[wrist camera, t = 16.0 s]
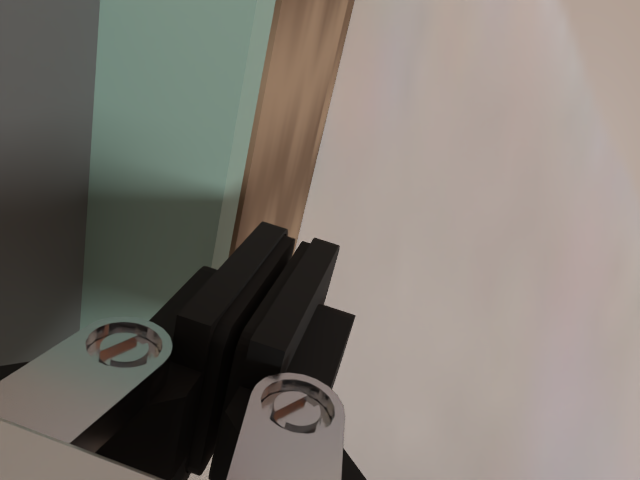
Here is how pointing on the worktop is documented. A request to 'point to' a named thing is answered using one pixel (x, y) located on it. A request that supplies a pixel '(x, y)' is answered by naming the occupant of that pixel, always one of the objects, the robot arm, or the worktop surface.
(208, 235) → the lid
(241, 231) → the open wooden box
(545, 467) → the worktop surface
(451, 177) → the worktop surface
